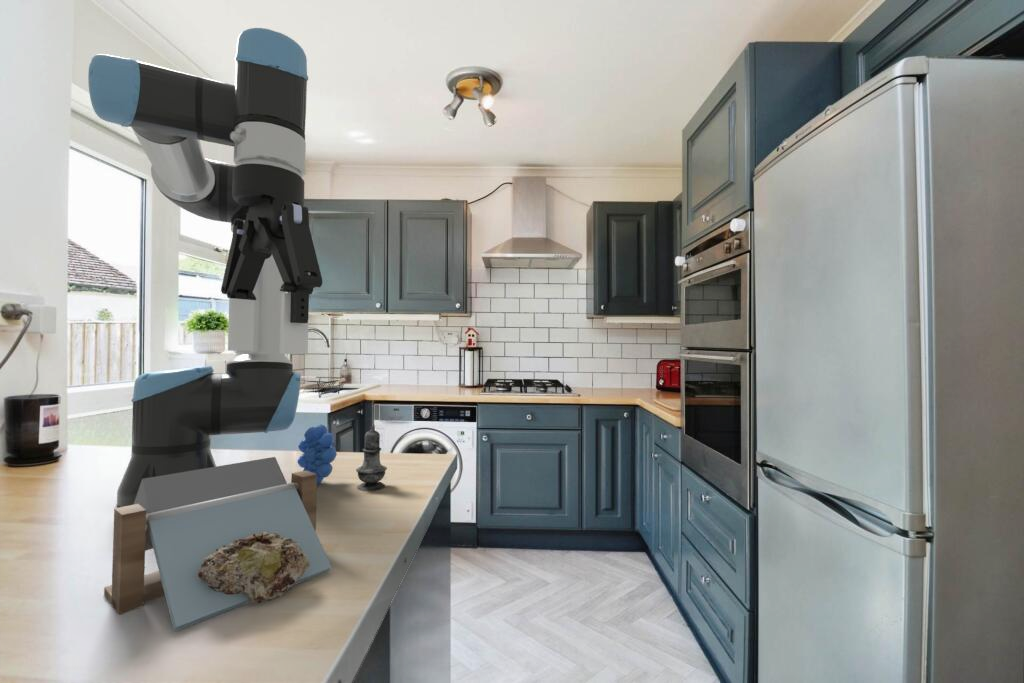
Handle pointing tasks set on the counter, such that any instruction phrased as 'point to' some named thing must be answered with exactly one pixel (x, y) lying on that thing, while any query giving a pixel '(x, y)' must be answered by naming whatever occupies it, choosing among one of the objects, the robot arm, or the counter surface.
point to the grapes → (317, 452)
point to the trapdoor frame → (130, 549)
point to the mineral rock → (255, 566)
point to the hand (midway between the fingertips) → (265, 352)
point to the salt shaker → (371, 463)
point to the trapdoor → (219, 528)
